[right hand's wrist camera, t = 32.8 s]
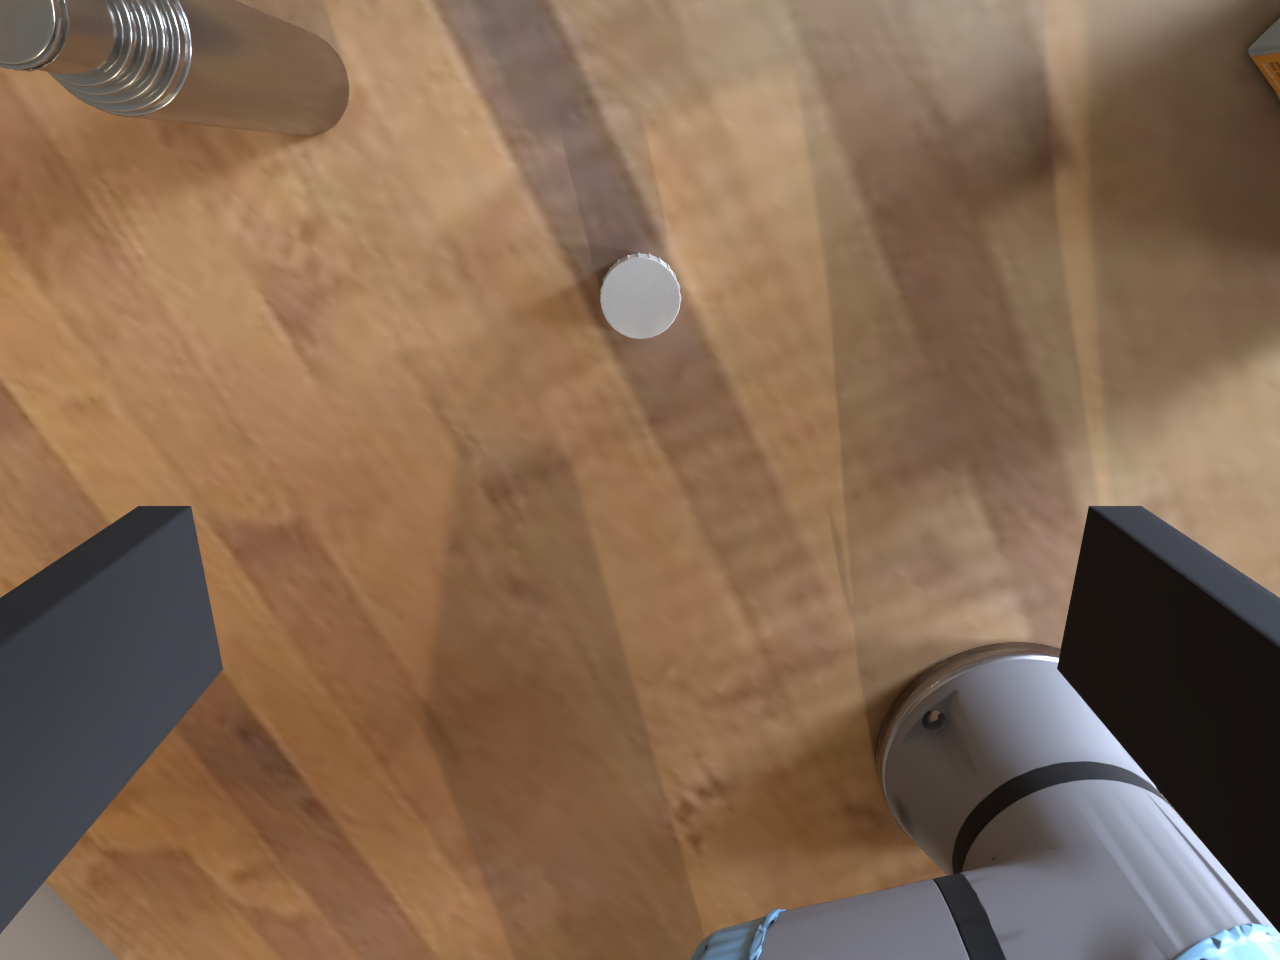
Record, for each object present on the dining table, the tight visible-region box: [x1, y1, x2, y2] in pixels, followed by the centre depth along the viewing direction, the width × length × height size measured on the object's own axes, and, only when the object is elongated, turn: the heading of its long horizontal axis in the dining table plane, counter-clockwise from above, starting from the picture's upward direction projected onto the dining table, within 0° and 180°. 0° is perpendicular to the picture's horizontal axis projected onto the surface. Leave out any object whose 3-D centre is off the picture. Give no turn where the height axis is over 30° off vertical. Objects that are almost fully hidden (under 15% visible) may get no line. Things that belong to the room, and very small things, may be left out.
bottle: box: [0, 0, 349, 136], centre depth 30 cm, size 5×5×20 cm
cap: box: [600, 252, 681, 339], centre depth 42 cm, size 4×4×2 cm
